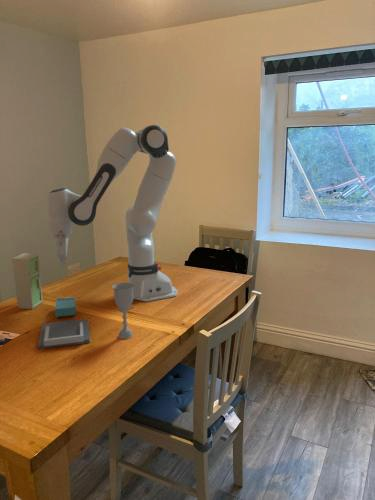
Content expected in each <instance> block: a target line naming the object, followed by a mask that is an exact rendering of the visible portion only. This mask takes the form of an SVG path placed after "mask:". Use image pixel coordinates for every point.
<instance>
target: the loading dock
mask: <svg viewBox="0 0 375 500" xmlns="http://www.w3.org/2000/svg"><path fill="white" fill-rule="evenodd" d="M90 343H91V342H90V327H89V318H82V319H81V318H80V319H74V320H73V319H72V320H63V321H56V322H55V321H54V322H47V323H45V322H44V323H42V326H41V329H40V333H39V340H38V342H37V349H38V350H41V349H42V350H43V349H44V350H45V349H49V348H50V349H51V348H52V349H53V348H58V347H66V346H74V345H82V344H90Z"/></svg>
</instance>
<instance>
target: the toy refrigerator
mask: <svg viewBox="0 0 375 500" xmlns="http://www.w3.org/2000/svg"><path fill="white" fill-rule="evenodd" d="M12 266H13V275H14V285H15V293H16V300H17V302H16V303H17V307H18V309H25V310H26V309H27V310H33V309H34V308H36V307H38V306H39V305H41V304H42V303H43V302H44V298H43V289H42V279H41V267H40V258H39V254H38V253H28V252H27V253H26V252H24V253H22V254H19V255H17V256H15V257H13V258H12Z"/></svg>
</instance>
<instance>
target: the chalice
mask: <svg viewBox="0 0 375 500" xmlns="http://www.w3.org/2000/svg"><path fill="white" fill-rule="evenodd" d="M133 287H134V284H133V283H128V282H118V283H116V284H115V283H114V284H113V285H112V289H113V295H114V297H113V298H114V303H115V305H116V306H117V309H118V310H119V312H120V313H122V324H123V325H122V326H123V327H122V328H121V329H120V330H119V333H118V335H117V337H118V339H121V340H126V339H127V340H128V339H131V338H132V337H134V334H133V333H132V330H131V329H130V328H129V327H128V326H127V324H128V321H127V319H128V316H127V313H128V312H129V311H130V309H131V307H132V304H133V301H134V299H133Z"/></svg>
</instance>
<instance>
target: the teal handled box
mask: <svg viewBox="0 0 375 500" xmlns="http://www.w3.org/2000/svg"><path fill="white" fill-rule="evenodd" d="M76 304H77V303H76V298H75V296H71V297H70V296H69V297H58V298H56V301H55V307H54V311H55V312H54V314H55V317H56V319H58V320H61V318H62V317H66V316H71V318H75V317H76V313H77V312H76V311H77V310H76V309H77V307H76Z"/></svg>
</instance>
